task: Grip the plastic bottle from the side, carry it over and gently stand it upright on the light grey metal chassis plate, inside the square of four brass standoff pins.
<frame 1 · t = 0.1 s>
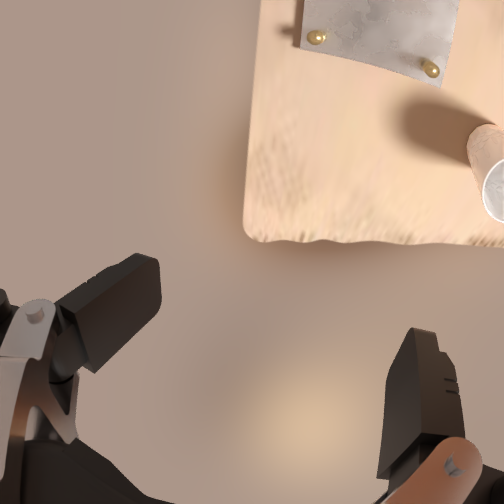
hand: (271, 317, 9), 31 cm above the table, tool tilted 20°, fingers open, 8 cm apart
white cup: (488, 147, 27), on the table
chassis plate: (382, 0, 21), on the table
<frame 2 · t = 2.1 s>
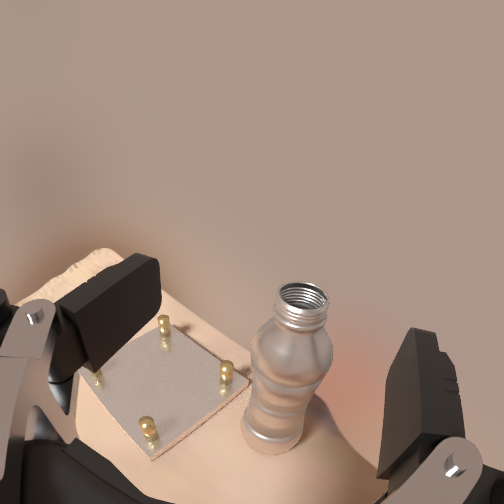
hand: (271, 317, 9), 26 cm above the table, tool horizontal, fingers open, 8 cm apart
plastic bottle: (269, 437, 30), on the table
chassis plate: (159, 384, 35), on the table
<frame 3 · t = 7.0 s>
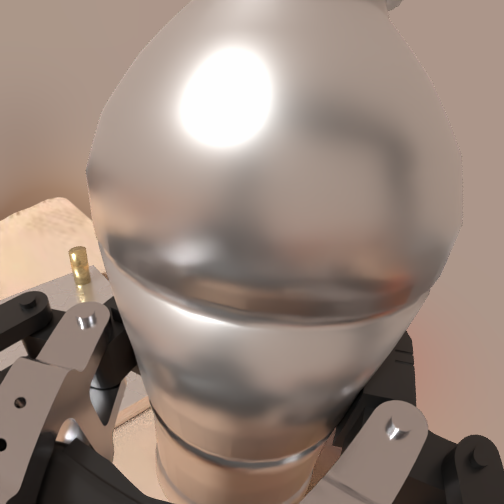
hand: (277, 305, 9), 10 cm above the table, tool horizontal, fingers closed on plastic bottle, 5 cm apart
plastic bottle: (230, 486, 12), on the table, touching gripper
chassis plate: (48, 355, 17), on the table
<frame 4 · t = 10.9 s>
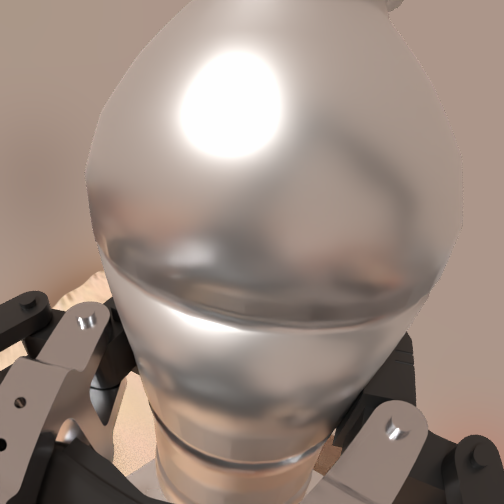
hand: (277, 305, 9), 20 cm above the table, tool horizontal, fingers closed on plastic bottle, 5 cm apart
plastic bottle: (230, 487, 12), point 10 cm above the table, touching gripper
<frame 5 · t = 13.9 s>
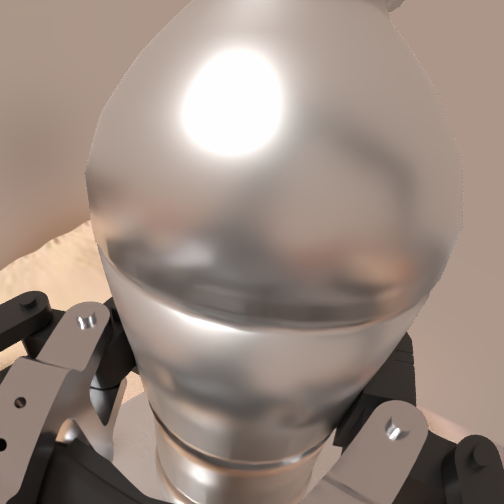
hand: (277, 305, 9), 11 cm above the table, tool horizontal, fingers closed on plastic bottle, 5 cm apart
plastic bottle: (230, 487, 12), point 1 cm above the table, touching gripper
chassis plate: (230, 491, 12), on the table
when the fingers open (11 cm above the table, at t = 14.7 s): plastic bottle moves 1 cm, resting on chassis plate.
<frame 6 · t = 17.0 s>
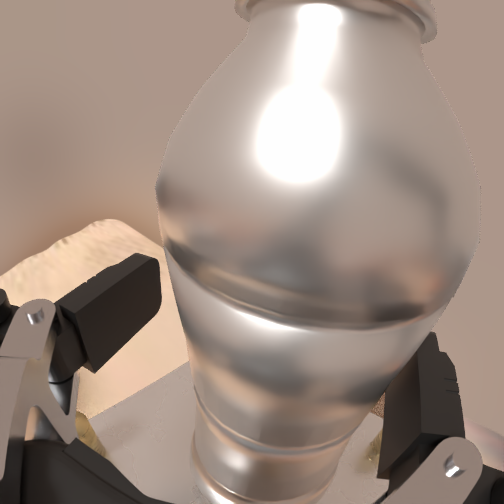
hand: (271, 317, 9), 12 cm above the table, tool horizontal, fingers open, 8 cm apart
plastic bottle: (257, 479, 13), point 1 cm above the table, touching chassis plate
chassis plate: (241, 471, 14), on the table
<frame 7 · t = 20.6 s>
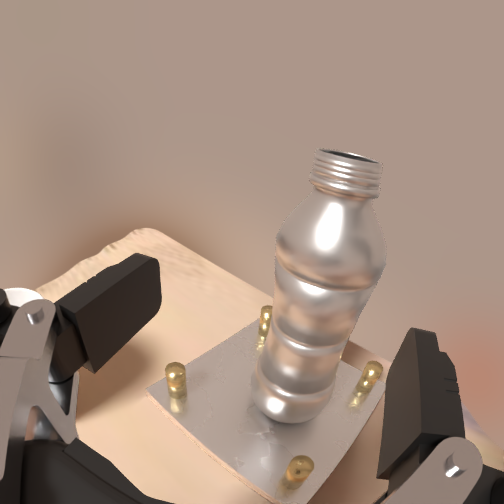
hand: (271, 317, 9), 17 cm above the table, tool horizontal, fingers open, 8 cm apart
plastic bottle: (285, 403, 24), point 1 cm above the table, touching chassis plate
white cup: (44, 404, 20), on the table
chassis plate: (274, 402, 25), on the table
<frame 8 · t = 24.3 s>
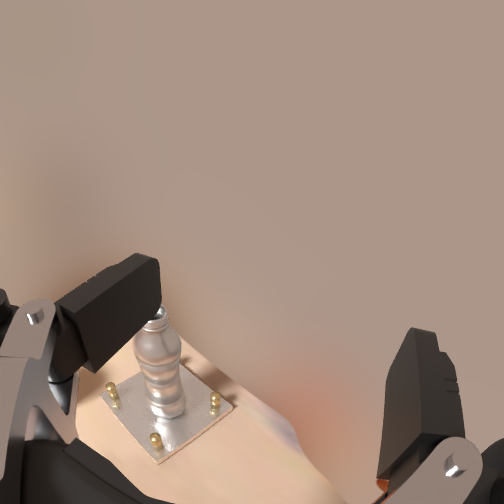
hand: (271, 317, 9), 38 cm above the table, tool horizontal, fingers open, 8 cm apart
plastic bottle: (167, 408, 43), point 1 cm above the table, touching chassis plate
chassis plate: (164, 406, 44), on the table
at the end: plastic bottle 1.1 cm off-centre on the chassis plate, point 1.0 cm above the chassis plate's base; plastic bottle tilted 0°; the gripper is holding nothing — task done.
